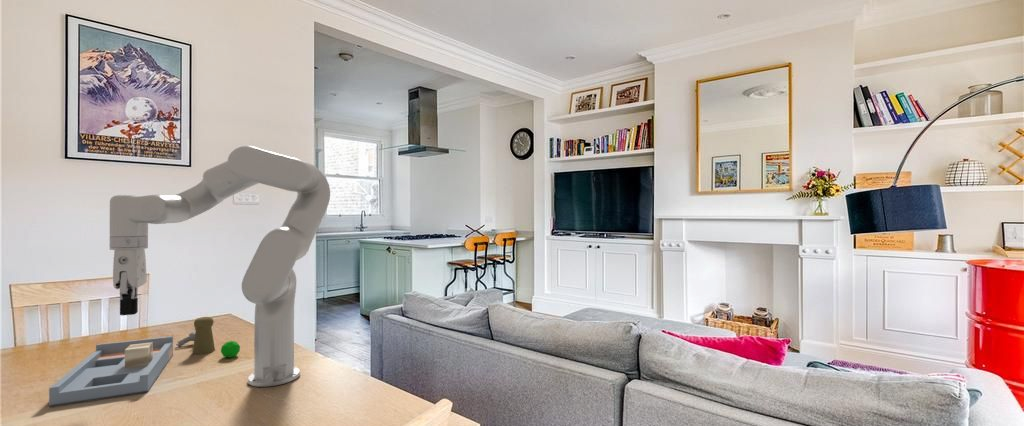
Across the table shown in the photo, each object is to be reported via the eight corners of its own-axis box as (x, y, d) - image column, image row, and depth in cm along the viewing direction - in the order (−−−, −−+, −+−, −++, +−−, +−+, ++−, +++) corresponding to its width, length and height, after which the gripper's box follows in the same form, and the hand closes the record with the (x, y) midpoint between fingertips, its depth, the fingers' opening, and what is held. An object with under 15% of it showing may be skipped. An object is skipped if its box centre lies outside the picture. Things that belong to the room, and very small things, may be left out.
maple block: (148, 365, 122) (148, 347, 122) (124, 368, 120) (124, 349, 120) (152, 359, 127) (152, 342, 126) (130, 362, 124) (130, 344, 124)
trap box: (147, 392, 111) (147, 368, 111) (49, 407, 103) (49, 381, 103) (173, 355, 140) (173, 336, 140) (97, 364, 131) (97, 344, 131)
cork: (219, 348, 146) (219, 315, 146) (205, 354, 140) (205, 320, 140) (202, 348, 147) (202, 315, 147) (187, 354, 141) (187, 319, 141)
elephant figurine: (171, 345, 150) (199, 330, 158) (182, 358, 150) (210, 342, 157) (173, 331, 145) (202, 316, 152) (184, 345, 144) (213, 329, 151)
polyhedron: (216, 359, 136) (216, 343, 136) (229, 353, 141) (229, 339, 141) (231, 360, 136) (231, 344, 136) (243, 355, 140) (243, 339, 140)
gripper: (140, 244, 110) (139, 319, 110) (154, 240, 123) (154, 307, 123) (100, 245, 106) (99, 322, 106) (119, 241, 119) (118, 309, 119)
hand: (128, 314), depth 115 cm, fingers closed
